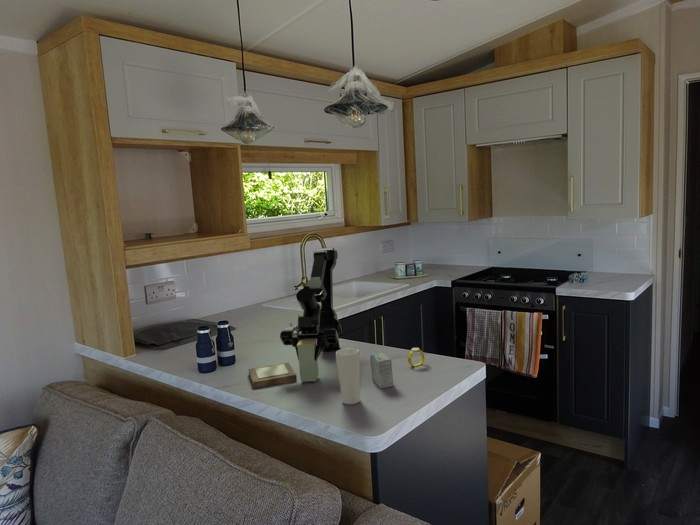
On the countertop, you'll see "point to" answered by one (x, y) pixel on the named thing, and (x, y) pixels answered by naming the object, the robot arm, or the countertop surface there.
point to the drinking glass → (349, 374)
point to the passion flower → (296, 326)
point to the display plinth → (272, 375)
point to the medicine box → (381, 370)
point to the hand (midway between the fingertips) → (307, 360)
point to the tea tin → (307, 360)
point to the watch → (411, 355)
